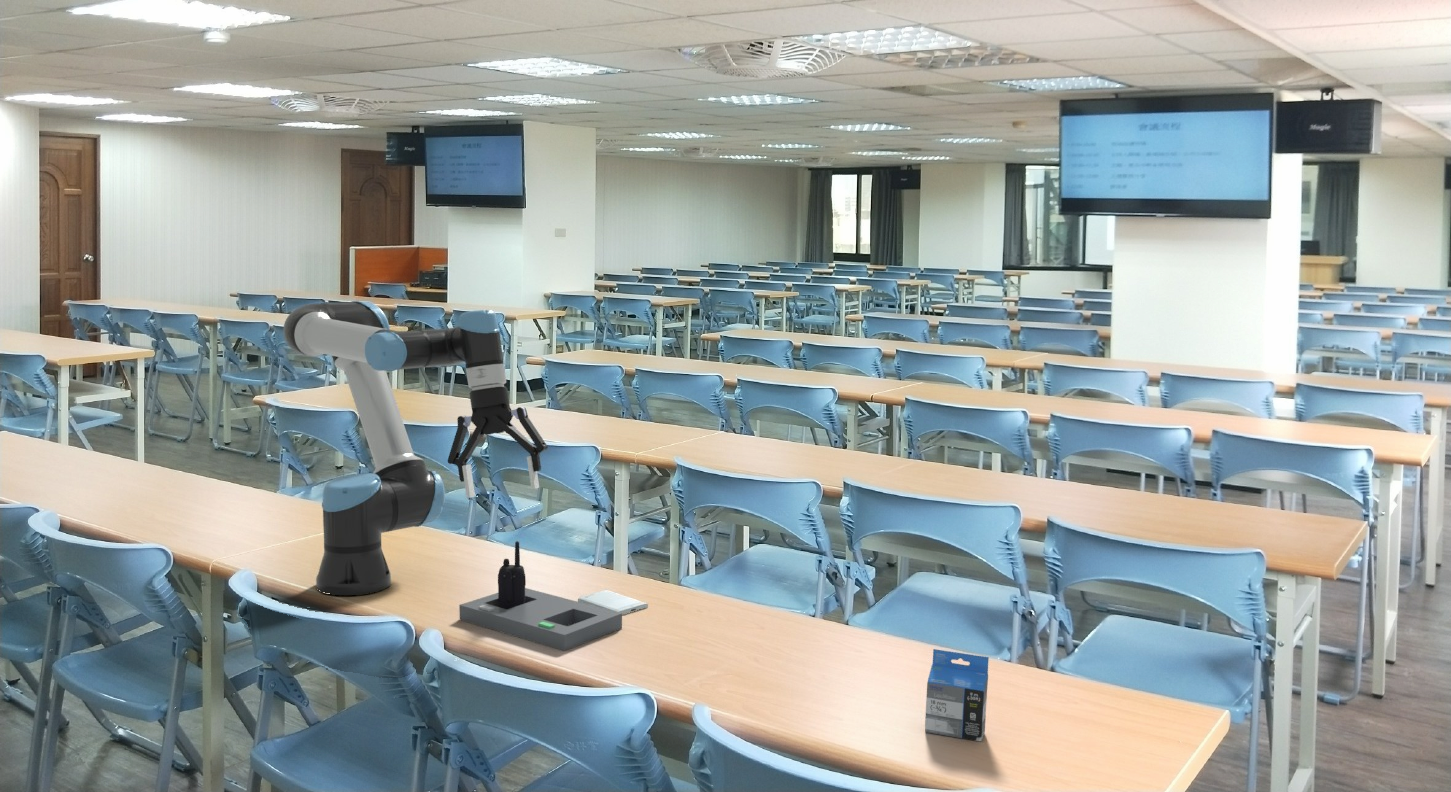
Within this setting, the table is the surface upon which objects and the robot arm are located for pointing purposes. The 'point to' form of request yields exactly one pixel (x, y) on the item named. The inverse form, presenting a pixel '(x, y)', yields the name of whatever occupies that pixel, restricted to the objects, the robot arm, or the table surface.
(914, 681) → the table surface
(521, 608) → the charging base
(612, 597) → the hard drive
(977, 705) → the label tape cartridge
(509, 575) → the two-way radio
